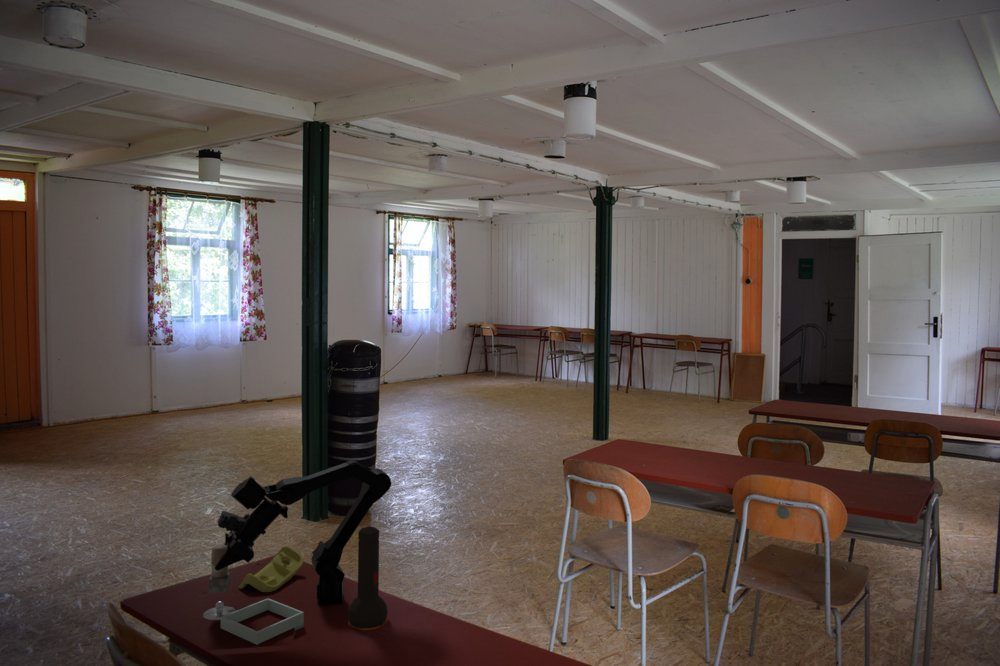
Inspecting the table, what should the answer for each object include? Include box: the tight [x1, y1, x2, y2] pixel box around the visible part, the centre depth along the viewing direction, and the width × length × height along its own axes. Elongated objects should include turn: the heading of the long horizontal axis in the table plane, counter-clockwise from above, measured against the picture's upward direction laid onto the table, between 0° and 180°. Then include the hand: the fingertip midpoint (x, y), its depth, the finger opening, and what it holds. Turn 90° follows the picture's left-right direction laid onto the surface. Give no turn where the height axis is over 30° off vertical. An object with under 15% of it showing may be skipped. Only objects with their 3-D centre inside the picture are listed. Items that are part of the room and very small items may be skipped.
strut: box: [208, 544, 231, 594], centre depth 188 cm, size 4×4×11 cm
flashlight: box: [347, 525, 388, 630], centre depth 187 cm, size 10×25×10 cm
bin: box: [220, 597, 305, 649], centre depth 182 cm, size 14×14×4 cm
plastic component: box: [238, 545, 304, 593], centre depth 212 cm, size 20×7×10 cm
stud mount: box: [202, 600, 237, 621], centre depth 188 cm, size 8×8×4 cm
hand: (215, 566), depth 187 cm, fingers closed on strut, 4 cm apart
